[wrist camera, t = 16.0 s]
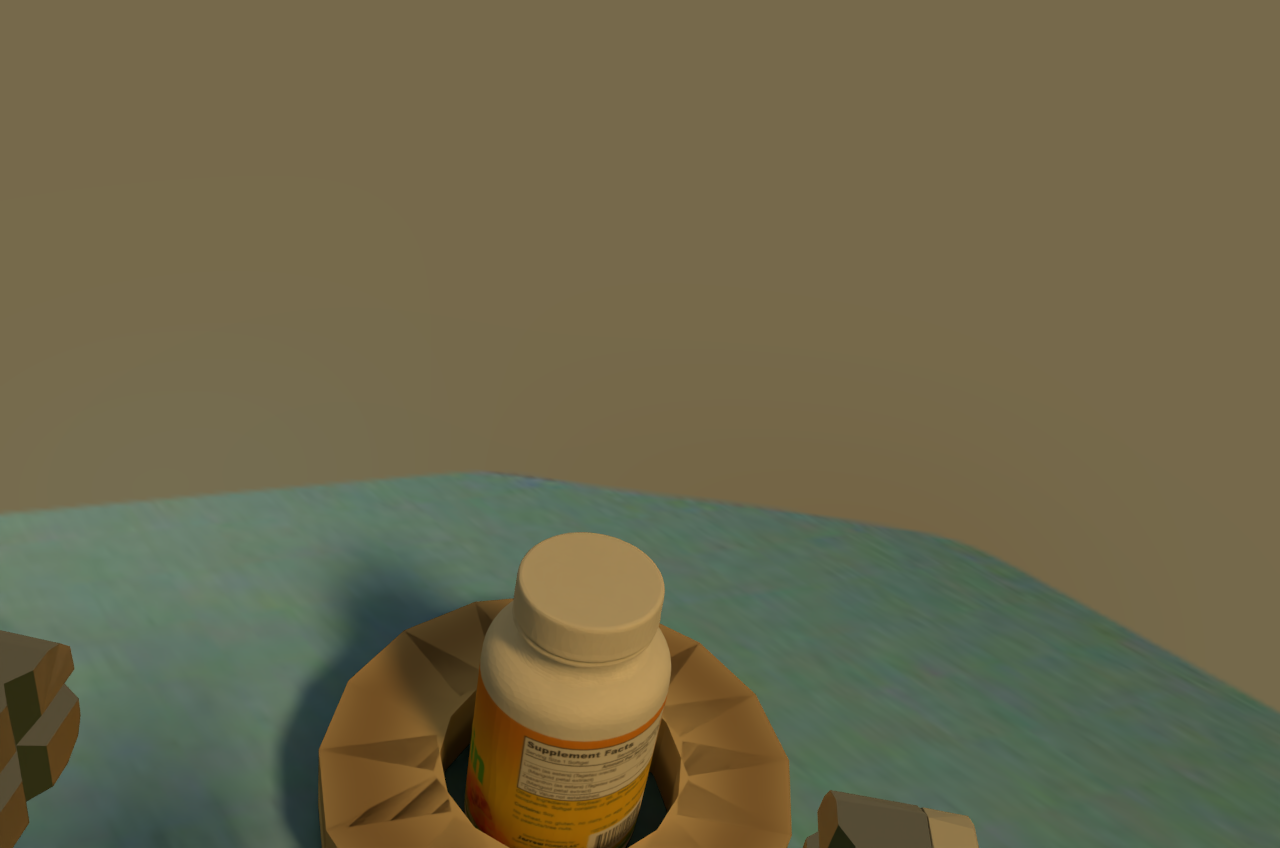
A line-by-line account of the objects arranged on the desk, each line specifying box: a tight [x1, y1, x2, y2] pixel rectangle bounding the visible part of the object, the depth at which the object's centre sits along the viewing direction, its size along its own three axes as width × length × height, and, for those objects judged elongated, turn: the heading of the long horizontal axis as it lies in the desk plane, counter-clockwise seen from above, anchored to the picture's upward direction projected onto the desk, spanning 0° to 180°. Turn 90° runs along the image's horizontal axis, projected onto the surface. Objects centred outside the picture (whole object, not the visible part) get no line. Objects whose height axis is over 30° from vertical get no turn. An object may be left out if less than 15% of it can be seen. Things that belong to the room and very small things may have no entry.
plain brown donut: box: [318, 599, 792, 848], centre depth 34 cm, size 14×14×2 cm
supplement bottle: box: [465, 532, 671, 848], centre depth 32 cm, size 5×5×10 cm
